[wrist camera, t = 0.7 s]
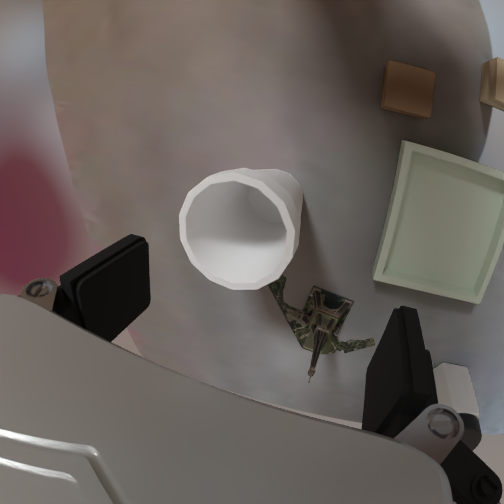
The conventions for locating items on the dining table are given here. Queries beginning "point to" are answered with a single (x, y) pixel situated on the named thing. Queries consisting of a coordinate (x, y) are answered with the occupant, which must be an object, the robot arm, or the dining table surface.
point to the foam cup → (242, 226)
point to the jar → (459, 399)
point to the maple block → (493, 83)
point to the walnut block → (408, 90)
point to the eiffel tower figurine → (318, 322)
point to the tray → (442, 224)
